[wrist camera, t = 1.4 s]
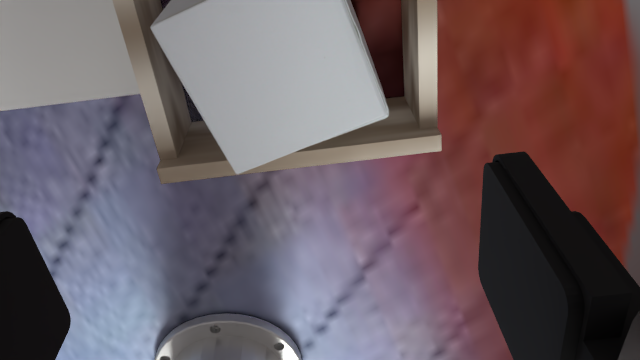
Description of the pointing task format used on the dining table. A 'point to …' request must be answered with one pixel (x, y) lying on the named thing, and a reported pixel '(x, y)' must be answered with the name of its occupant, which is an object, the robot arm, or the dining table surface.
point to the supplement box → (272, 72)
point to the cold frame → (360, 144)
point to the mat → (61, 53)
